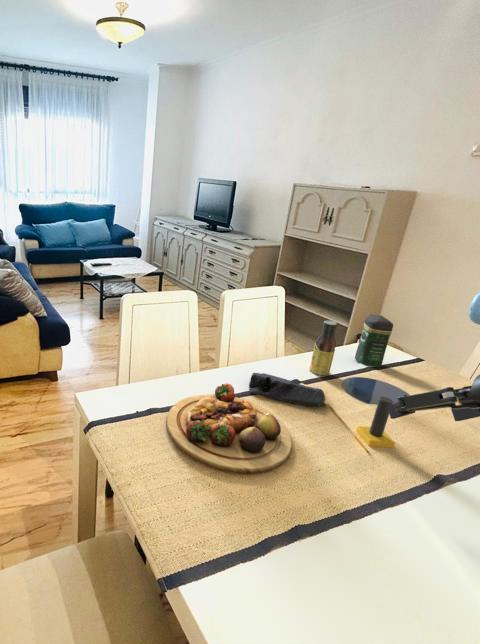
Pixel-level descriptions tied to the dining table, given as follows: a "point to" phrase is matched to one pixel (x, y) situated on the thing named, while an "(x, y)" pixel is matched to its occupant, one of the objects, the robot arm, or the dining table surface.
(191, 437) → the wooden plate
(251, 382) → the dark folded cloth
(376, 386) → the plate
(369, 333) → the coffee jar
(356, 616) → the dining table surface
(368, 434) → the sponge wand
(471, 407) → the robot arm
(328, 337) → the sauce bottle
